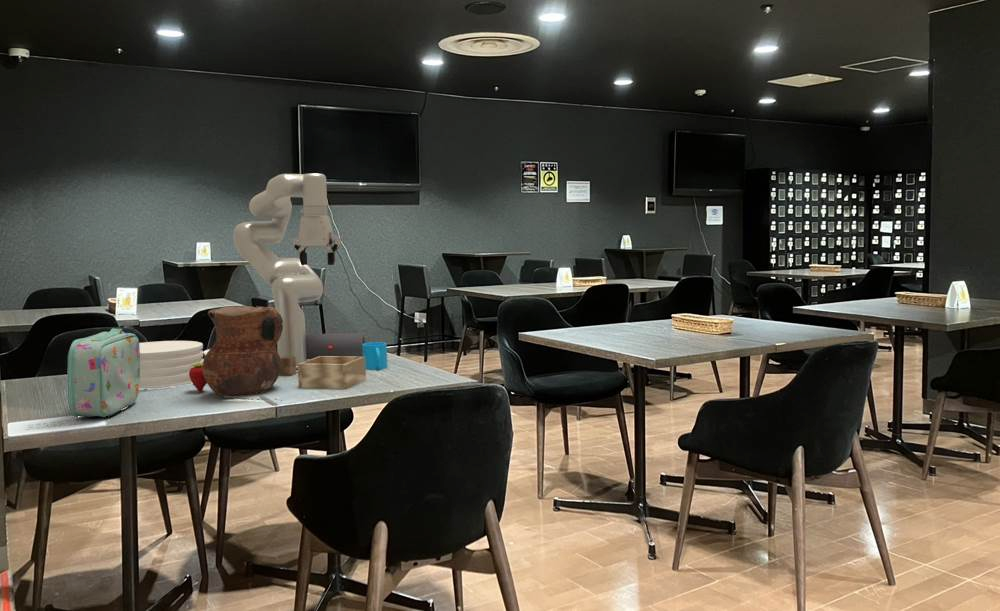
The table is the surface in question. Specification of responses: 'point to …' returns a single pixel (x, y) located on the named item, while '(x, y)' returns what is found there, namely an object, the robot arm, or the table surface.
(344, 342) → the bluetooth speaker
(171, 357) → the plate stack
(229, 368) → the jug
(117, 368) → the lunch box
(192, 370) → the strawberry
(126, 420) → the table surface
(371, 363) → the mug
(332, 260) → the robot arm
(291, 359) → the lid
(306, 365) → the storage box
